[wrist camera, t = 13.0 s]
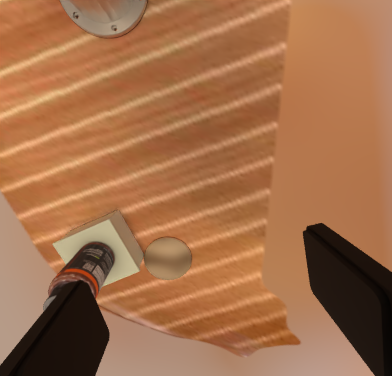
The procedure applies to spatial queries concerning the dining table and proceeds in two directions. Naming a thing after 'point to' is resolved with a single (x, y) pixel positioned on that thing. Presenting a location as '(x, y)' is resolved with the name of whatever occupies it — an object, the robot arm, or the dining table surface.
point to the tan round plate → (167, 258)
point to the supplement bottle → (84, 269)
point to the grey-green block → (110, 236)
